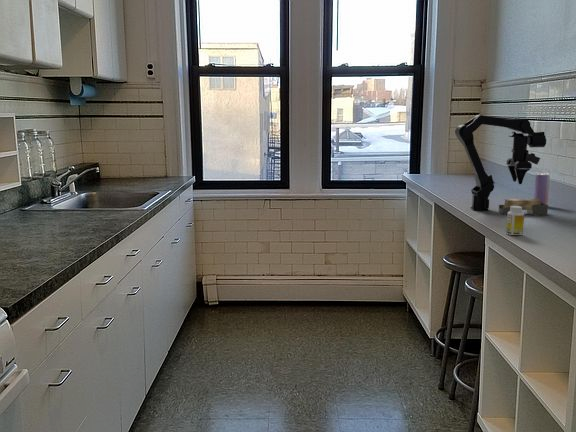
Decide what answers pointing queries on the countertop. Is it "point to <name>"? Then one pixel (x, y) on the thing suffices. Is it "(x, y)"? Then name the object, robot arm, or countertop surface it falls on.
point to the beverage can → (542, 187)
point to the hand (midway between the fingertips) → (517, 182)
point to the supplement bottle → (515, 221)
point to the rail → (522, 203)
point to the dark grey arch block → (504, 209)
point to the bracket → (539, 209)
